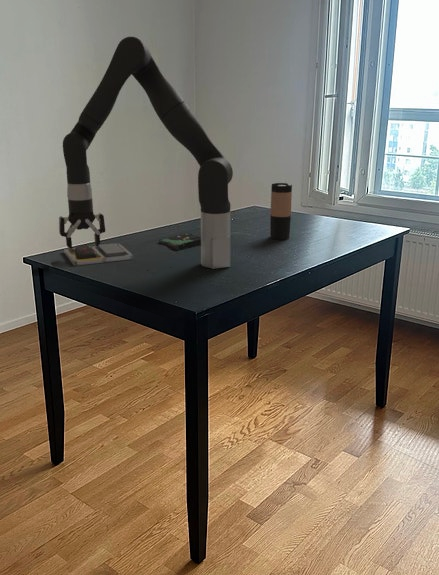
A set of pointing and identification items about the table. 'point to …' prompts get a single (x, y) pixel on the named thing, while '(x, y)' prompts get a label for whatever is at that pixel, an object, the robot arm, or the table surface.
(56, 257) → the table surface
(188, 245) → the disk drive
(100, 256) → the tray
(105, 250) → the blank panel
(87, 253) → the usb drive
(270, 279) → the table surface
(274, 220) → the travel mug
